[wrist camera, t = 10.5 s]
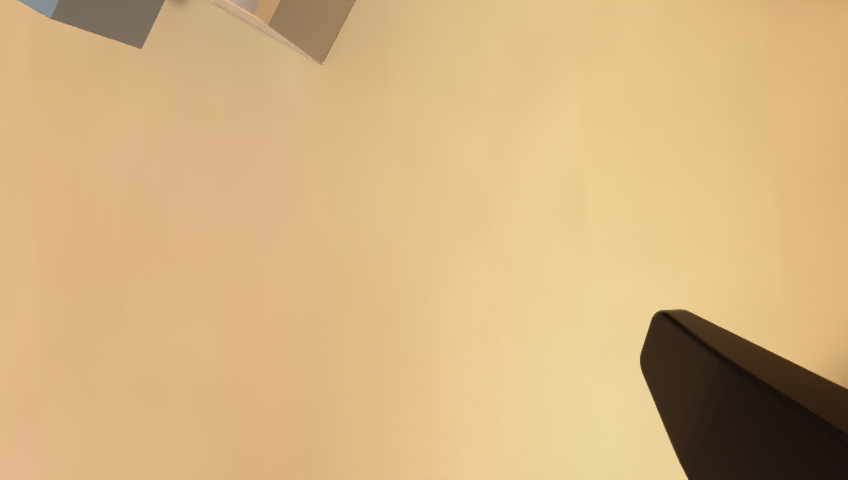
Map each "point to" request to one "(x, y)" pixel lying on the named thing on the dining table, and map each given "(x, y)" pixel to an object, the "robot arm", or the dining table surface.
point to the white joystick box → (254, 3)
